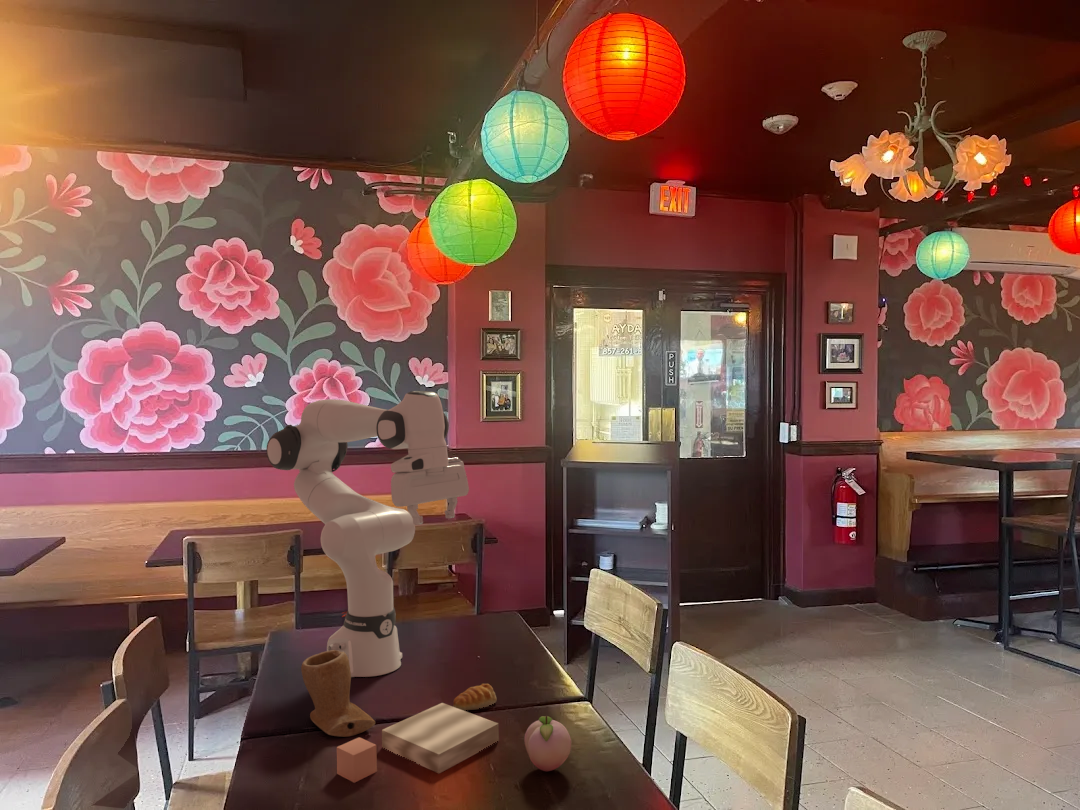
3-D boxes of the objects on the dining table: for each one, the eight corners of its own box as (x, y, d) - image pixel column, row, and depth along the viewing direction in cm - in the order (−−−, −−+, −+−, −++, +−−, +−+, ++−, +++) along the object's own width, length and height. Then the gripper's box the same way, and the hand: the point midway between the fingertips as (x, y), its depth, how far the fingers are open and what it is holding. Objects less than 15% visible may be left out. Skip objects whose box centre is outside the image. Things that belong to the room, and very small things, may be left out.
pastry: (463, 716, 163) (463, 698, 163) (446, 706, 169) (446, 689, 168) (499, 704, 169) (499, 687, 169) (481, 695, 174) (481, 678, 174)
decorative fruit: (577, 781, 136) (576, 725, 136) (531, 786, 134) (531, 729, 134) (564, 755, 145) (563, 703, 145) (521, 760, 143) (521, 707, 143)
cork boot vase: (295, 721, 162) (293, 650, 161) (350, 707, 168) (348, 639, 168) (318, 748, 149) (317, 672, 149) (376, 732, 156) (375, 659, 155)
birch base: (382, 750, 149) (381, 729, 149) (442, 721, 162) (442, 702, 161) (439, 776, 139) (438, 754, 139) (498, 743, 151) (498, 723, 151)
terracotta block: (337, 774, 139) (336, 747, 139) (359, 763, 143) (359, 737, 143) (354, 783, 136) (353, 755, 136) (376, 772, 140) (376, 744, 140)
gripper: (453, 457, 186) (459, 514, 185) (384, 465, 170) (390, 528, 170) (471, 455, 181) (477, 514, 181) (402, 464, 166) (408, 528, 166)
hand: (434, 521), depth 175 cm, fingers open, 8 cm apart
